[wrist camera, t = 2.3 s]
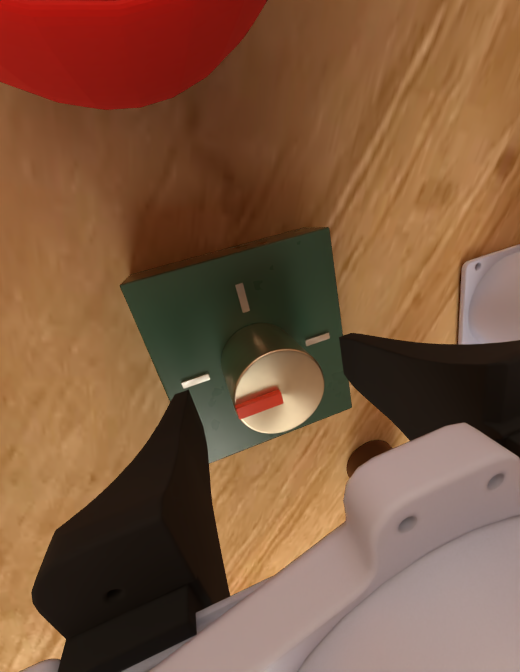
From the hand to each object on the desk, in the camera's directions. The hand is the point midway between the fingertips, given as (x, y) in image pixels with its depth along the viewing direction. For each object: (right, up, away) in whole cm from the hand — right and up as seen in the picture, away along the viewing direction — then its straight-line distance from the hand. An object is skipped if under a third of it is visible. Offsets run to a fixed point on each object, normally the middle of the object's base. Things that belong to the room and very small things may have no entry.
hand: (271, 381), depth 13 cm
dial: (-1, +1, +2) cm, 2 cm away
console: (-1, +2, +5) cm, 6 cm away
